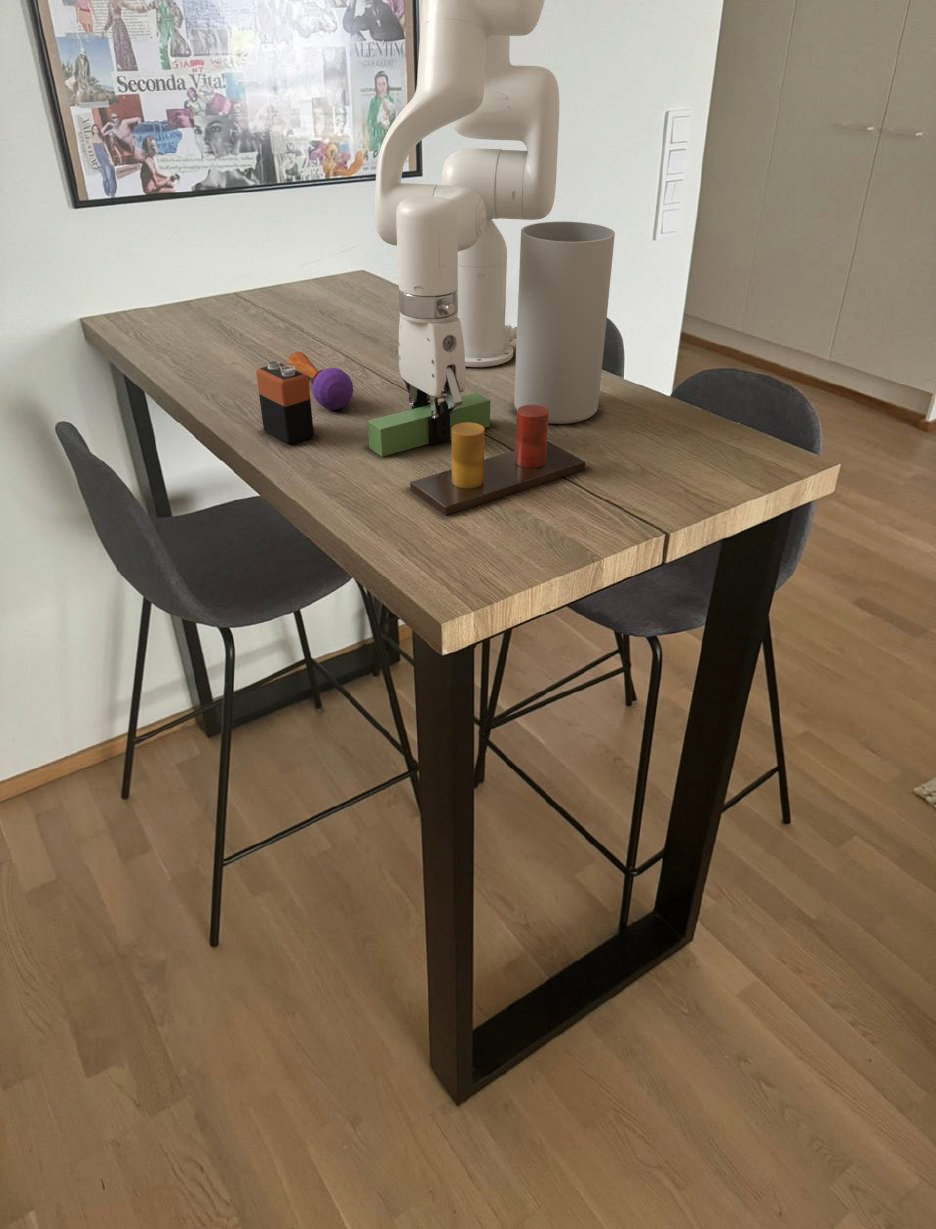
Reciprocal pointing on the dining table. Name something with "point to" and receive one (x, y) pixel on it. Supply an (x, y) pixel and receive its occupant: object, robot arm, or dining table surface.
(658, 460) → the dining table surface
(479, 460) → the rod stand
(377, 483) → the dining table surface
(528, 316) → the cylinder vase
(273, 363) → the battery
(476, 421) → the green bar
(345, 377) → the kendama
